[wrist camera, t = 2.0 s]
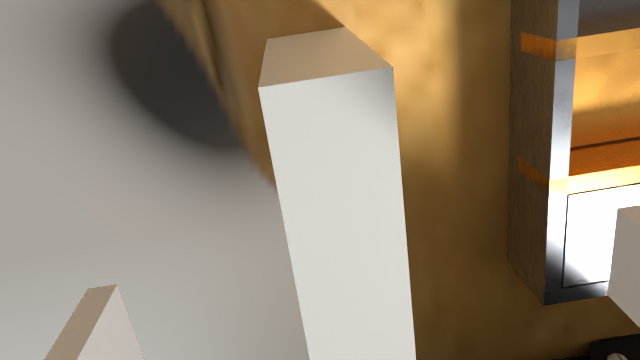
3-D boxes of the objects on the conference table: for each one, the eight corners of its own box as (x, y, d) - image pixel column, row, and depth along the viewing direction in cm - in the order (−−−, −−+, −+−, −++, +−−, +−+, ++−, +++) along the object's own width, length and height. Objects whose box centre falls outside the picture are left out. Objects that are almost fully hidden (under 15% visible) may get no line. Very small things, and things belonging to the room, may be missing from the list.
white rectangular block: (304, 251, 26) (317, 402, 17) (267, 38, 22) (257, 87, 13) (369, 241, 26) (418, 386, 17) (345, 26, 22) (392, 66, 13)
